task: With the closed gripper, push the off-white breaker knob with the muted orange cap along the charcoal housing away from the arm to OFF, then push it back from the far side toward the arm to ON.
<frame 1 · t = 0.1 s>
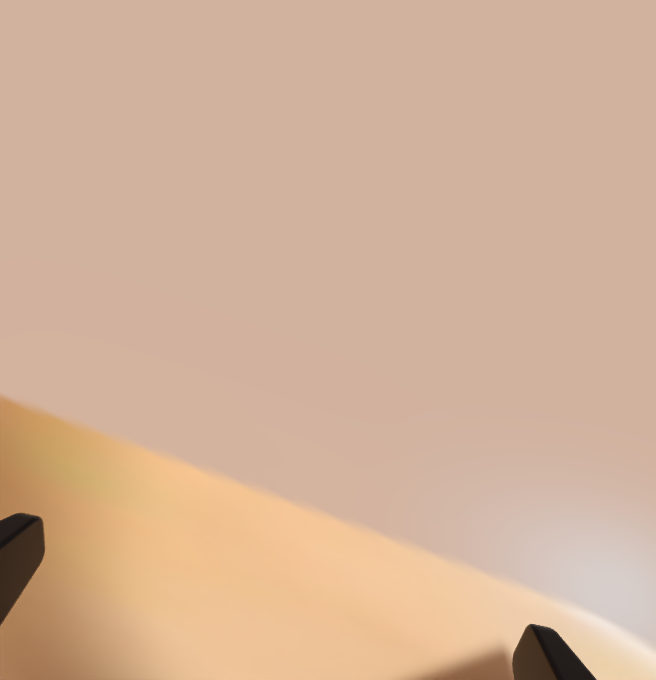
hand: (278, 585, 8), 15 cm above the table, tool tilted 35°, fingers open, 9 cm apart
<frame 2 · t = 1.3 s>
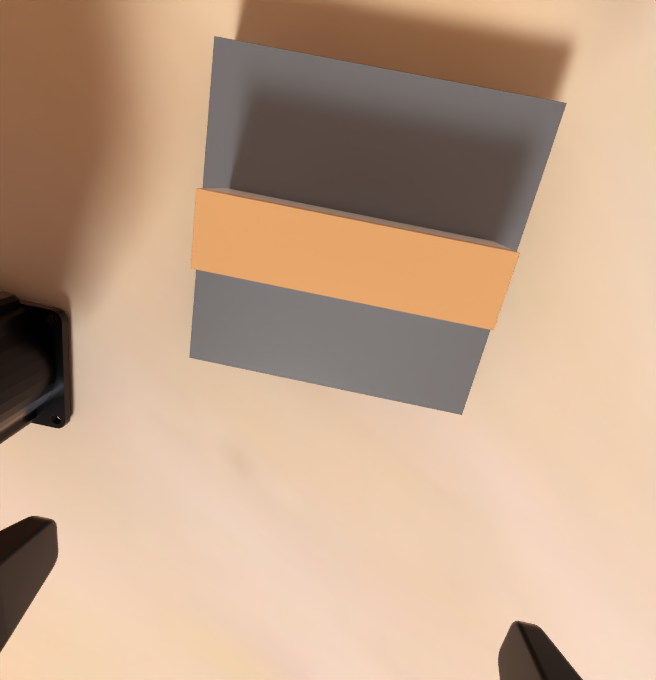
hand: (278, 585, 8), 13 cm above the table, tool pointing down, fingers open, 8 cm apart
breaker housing: (354, 241, 18), on the table
breaker knob: (350, 254, 15), point 4 cm above the table, slide at 5.0 cm
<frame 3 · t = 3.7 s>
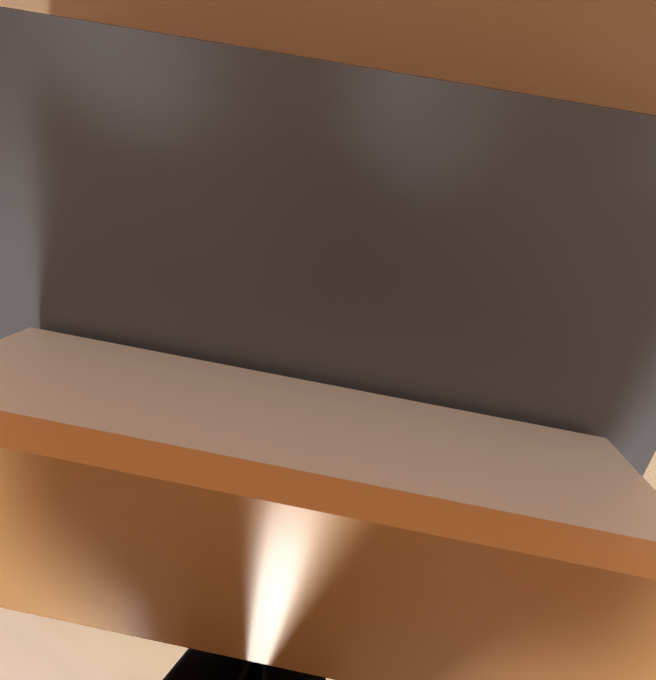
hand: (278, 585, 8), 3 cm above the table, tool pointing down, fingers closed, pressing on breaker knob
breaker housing: (315, 390, 10), on the table
breaker knob: (285, 499, 6), point 4 cm above the table, slide at 5.0 cm, touching gripper
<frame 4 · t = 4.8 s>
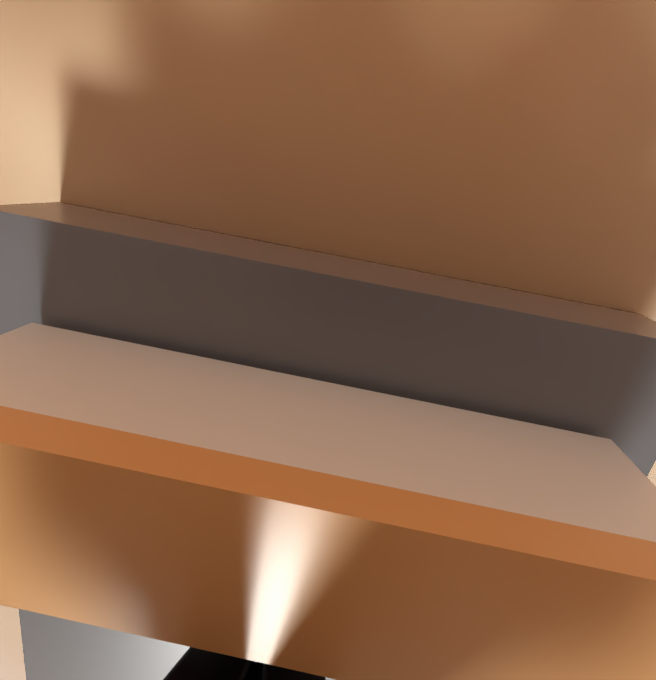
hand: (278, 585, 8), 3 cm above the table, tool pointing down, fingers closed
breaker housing: (298, 493, 11), on the table
breaker knob: (288, 498, 6), point 4 cm above the table, slide at 8.0 cm
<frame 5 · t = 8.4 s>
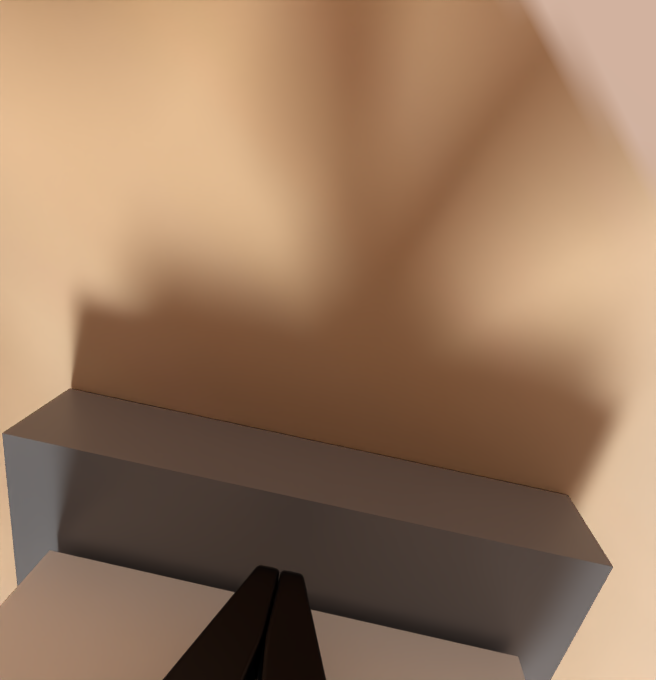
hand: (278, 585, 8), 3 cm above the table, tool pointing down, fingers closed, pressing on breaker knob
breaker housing: (278, 618, 12), on the table
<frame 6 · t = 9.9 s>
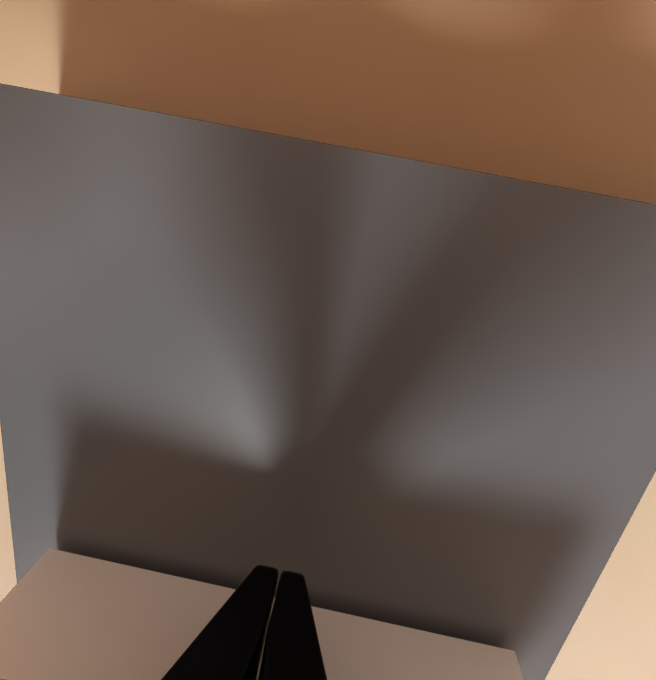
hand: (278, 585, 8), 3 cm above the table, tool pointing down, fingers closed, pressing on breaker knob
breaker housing: (312, 430, 10), on the table
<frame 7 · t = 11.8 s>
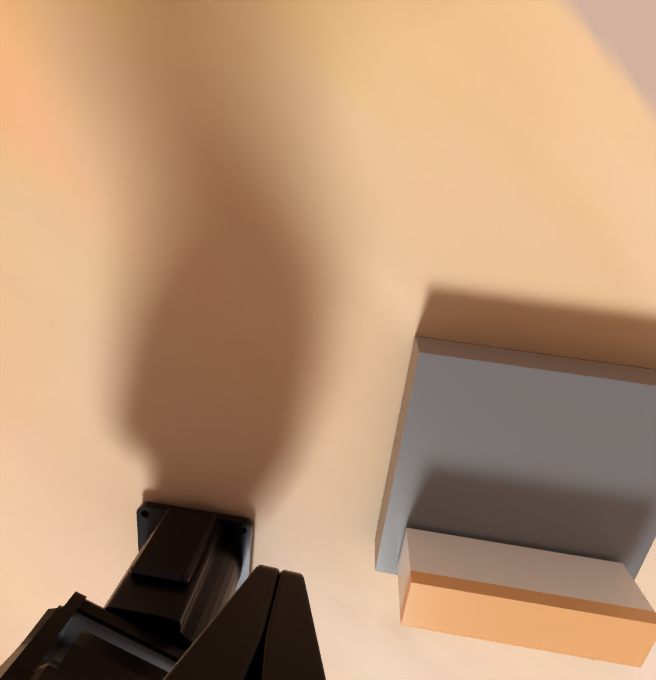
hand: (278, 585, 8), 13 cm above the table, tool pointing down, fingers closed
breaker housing: (514, 466, 21), on the table
breaker knob: (515, 593, 19), point 4 cm above the table, slide at 1.0 cm
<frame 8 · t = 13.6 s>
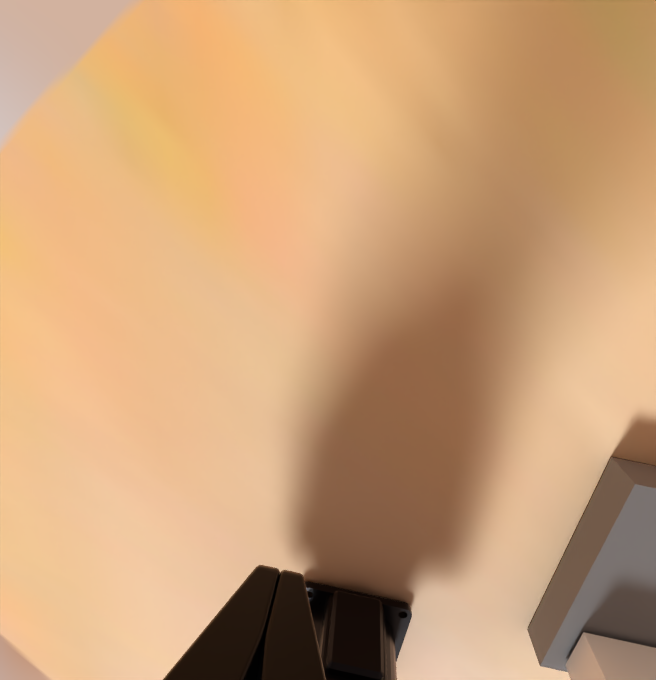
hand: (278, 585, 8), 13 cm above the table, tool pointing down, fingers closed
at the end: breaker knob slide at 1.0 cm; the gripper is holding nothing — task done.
